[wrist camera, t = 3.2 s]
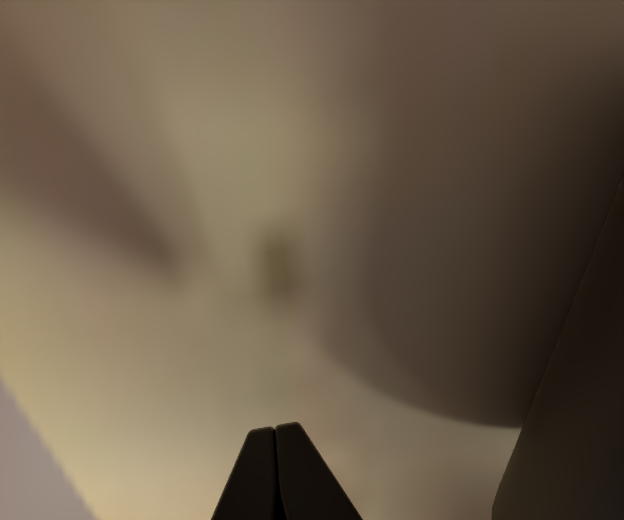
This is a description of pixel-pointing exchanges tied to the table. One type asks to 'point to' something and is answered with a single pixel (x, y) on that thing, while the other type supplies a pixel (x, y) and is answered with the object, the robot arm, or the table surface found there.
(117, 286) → the table surface
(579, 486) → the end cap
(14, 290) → the table surface
